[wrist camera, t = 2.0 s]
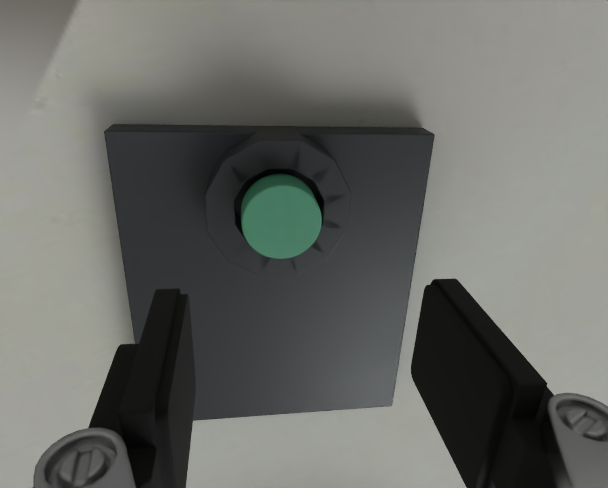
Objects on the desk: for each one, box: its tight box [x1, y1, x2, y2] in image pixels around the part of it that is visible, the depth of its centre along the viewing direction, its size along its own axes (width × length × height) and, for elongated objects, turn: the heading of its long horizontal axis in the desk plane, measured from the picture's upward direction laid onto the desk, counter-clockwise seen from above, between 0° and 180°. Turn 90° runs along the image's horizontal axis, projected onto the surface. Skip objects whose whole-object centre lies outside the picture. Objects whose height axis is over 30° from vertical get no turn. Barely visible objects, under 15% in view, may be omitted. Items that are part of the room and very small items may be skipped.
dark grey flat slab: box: [104, 124, 434, 420], centre depth 23 cm, size 16×14×3 cm
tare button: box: [241, 174, 322, 259], centre depth 19 cm, size 3×3×2 cm
